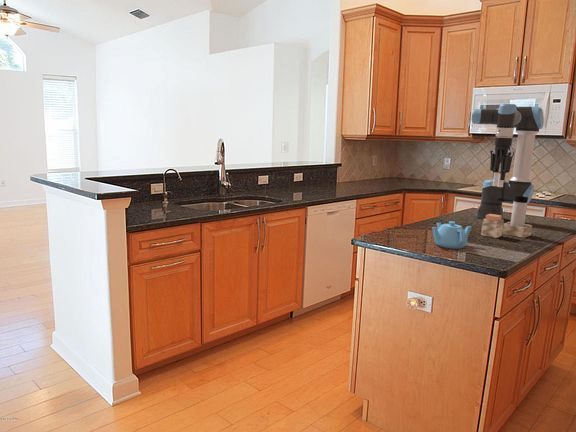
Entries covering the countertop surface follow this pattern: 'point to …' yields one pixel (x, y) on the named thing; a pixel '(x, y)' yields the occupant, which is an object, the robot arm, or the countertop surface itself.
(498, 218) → the orange square panel
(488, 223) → the dock
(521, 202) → the travel mug
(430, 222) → the countertop surface
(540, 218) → the countertop surface
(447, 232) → the teapot
